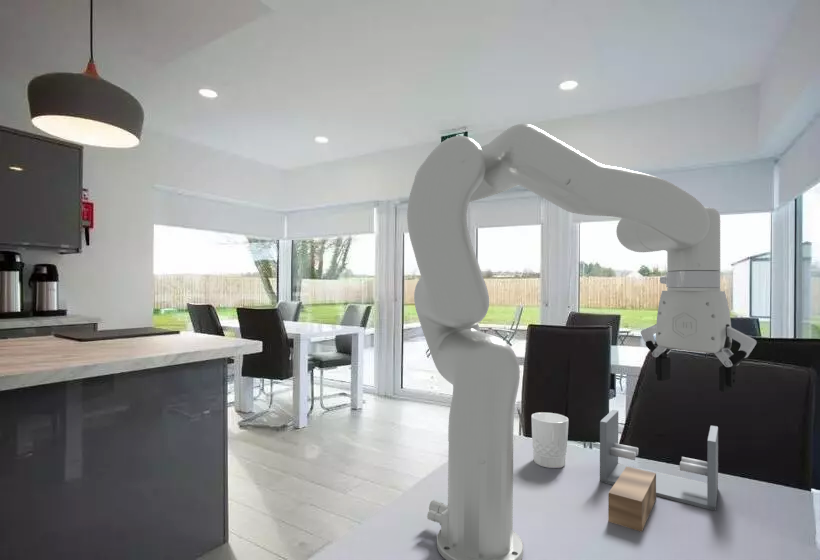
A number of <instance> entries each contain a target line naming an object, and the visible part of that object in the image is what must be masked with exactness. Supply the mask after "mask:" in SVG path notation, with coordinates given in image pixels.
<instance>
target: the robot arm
mask: <svg viewBox="0 0 820 560" xmlns="http://www.w3.org/2000/svg"><path fill="white" fill-rule="evenodd" d="M516 186H520V187H522V188H524V189H526V190H527V191H529V192H532V194H533V193H534V194H535V195H537V196H539V197H541V198H542V199H545V200H546V201H548V202H550V203H552V204H553V205H555V206H557V207H559V208H560V209H562V210H563V211H566V212H569V213H572V214H577V215H584V216H593V217H595V216H596V217H597V216H598V217H601V216H602V217H614V218H620V220H619V222H617V225H616V231H615V232H616V237H617V240H618V241H619V243H620V244H621V245H622V246H623V247H624V248H625V249H627V250H629V251H633V252H635V253H651V252H661V251H666V252H667V253H666V254H667V255H666V256H667V257H666V258H667V259H666V260H667V261H666V263H667V268H666V271H667V272H666V273H665V275H663V276H660V277H659V282H660V284H662V285H663V284H664V285H665V286H666V288H667V289H666V290H661V294H660V297H659V302H658V306H657V315H656V324H654V325H652V326H649V327H647V328H644V329H642V330H641V331H640V336H641V337H642V339H643V341H644V342H645V346H646V348H648V350H649V351H650V353H651V354H652V357H654V358H655V375H656V381H659V382H664V381H667V380H670V379H671V356H668V355H669V354H670V352H672V350H676V351H684V352H690V353H691V352H692V353H693V352H694V353H701V354H714V355H715V356H716V357H717V359H719V361H720V362H721V363H722V366H721V365H720V366H719V368H718V383H719V384H718V387H719V388H718V390H719V391H720V392H721V393H728V392H732V391H734V388H735V387H736V385H737V366H739V365H740V363H742V362H743V361H745V360H746V359H748V358H749V357H750V354H751V353H752V351H753V349H755V346H756V345H757V342H758V341H757V340H756V339H754V338H752V337H750V336H749V335H747V334H745V333H744V332H741V331H739V330H738V329H735V328H734V327H732V321H731V312H730V308H729V302H728V298H727V295H726V291H725V290H724V291H723V290H722V291H721V215H720V213H719V210H717V209H716V208H713V207H710V206H709V207H708V206H704V205H703V204H702V202H701V201H699V200H698V199H697V198H696V197H695V196H693V195H692V194H690V193H689V192H687V191H686V190H684V189H682V188H680V187H679V186H677V185H675V184H674V183H672V182H670V181H668V180H665V179H663V178H661V177H659V176H654V175H653V174H652V175H651V174H647V173H644V172H639V171H634V170H630V169H626V168H622V167H617V166H611V165H607V164H606V165H605V164H602V163H600V162H597V161H595V160H594V159H592V158H590V157H588V156H587V155H585V154H584V153H581V152H580V151H579V150H578V149H577V150H576V149H575V148H573V147H572V146H570V145H568V144H566V143H565V142H563V141H562V140H560V139H557V138H556V137H554V136H553V135H550V134H549V133H547V132H546V131H544V130H543V129H540V128H538V127H537V126H535V125H532V124H529V123H518V124H514V125H512V126H510V127H508V128H507V129H506V130H504V131H502V132H501V133H500V134H498V135H497V136H496V137H495V138H494V139H493V140H491V141H490V142H489V143H487V144H484V145H482V146H481V145H480V144H479V143H478V142H477V141H475V140H474V139H473V138H472V137H469V136H465V135H454V136H452V137H449V138H446V139H445V140H443V141H441V142H440V143H439V144H437V146H436V147H435V148H434V149H433V150H432V151H431V152H430V153H429V155H428V156H427V157H426V158H425V160H424V161H423V162H422V164H421V165H420V166H419V168H418V169H417V171H416V174H415V176H414V180H413V183H412V186H411V189H410V192H409V197H408V201H407V202H408V203H407V210H406V211H407V213H406V217H407V218H406V219H407V220H406V221H407V222H406V223H407V229H408V234H409V235H408V236H409V239H410V244H411V247H412V250H413V253H414V254H413V255H414V257H415V261H416V264H417V269H418V270H419V275H420V278H419V279H418V281H417V282H416V285H415V288H414V292H413V297H414V298H413V301H414V307H415V311H416V315H417V318H418V320H419V323H420V326H421V330H422V333H423V336H424V339H425V341H426V345H427V347H428V350H429V352H430V355H431V358H432V361H433V363H434V366H435V368H436V370H437V372H438V373H439V374H440V375H441V377H443V379H445V381H447V382H448V383H450V384H451V385H452V389H453V391H452V397H451V402H450V409H449V413H448V414H449V415H448V431H447V434H448V435H447V436H448V437H447V439H448V440H447V441H448V454H447V455H448V460H447V461H448V462H447V463H448V465H447V466H448V467H447V468H448V469H447V471H448V472H447V474H448V475H447V477H448V478H447V504H444V502H440V501H438V500H435V499H432V500H431V501H430V503H429V507H428V512H427V516H426V517H427V520H429V521H432V522H434V523H438V524H439V526H440V529H439V531H438V532H437V535H436V548H437V550H438V553H439V554H440V556H441V557H442V558H443V559H444V560H522V559H523V557H524V542H523V540H522V539H521V537H520V536H519V534H518V533H516V531H514V530H513V529H514V528H513V526H514V525H513V524H514V522H513V518H514V516H513V512H514V509H513V508H514V507H513V506H514V423H515V409H516V401H517V397H518V392H519V385H520V376H521V374H520V373H521V372H520V371H521V370H520V364H519V360H518V357H517V354H516V353H515V351H514V349H512V347H511V346H510V345H509V344H508V343H507V342H506V341H505V340H503V339H501V338H500V337H498V336H496V335H494V334H489V333H487V332H482V331H481V328H480V327H479V324H480V323H481V321H483V320H484V319H485V317H486V315H487V313H488V311H489V307H490V296H489V291H488V288H487V285H486V282H485V278H484V276H483V273H482V270H481V268H480V267H481V266H480V263H479V261H478V258H477V255H476V253H475V250H474V247H473V244H472V240H471V237H470V232H469V227H468V220H467V217H468V216H467V214H468V206H469V204H470V203H472V202H475V201H479V200H482V199H485V198H489V197H492V196H494V195H498V194H500V193H503V192H506V191H508V190H510V189H512V188H515V187H516ZM654 335H655V337H654ZM733 341H736V342H737V343H739V344H740V347H739V349H738V350H737V351H736V352H734V353H733V352H732V350H731V348H732V343H733Z"/></svg>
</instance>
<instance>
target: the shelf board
mask: <svg viewBox="0 0 820 560" xmlns="http://www.w3.org/2000/svg"><path fill="white" fill-rule="evenodd" d="M607 494H608V497H607V500H608V505H607V506H608V509H607V510H608V515H607V517H608V518H607V519H608V520H607V521H608V523H612V524H615V525H617V526H620V527H621V526H622V527H624V528H628V529H631V530H635V531H637V532H638V531H639V532H643V530H644V527H645V525H646V523H647V521H648V519H649V516H650V514H651V512H652V510H653V507H654V504H655V503H656V501H657V500H656V499H657V496H656V473H653V472H649V471H644V470H640V469H635V468H631V467H627V466H626V468H625V469H624V471H623V472H622V474H621V475H620V477H619V478H618V480H617V481H616V482H615V484H614V485H612V486H611V488H610V490H609V492H608V493H607Z"/></svg>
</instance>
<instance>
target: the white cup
mask: <svg viewBox="0 0 820 560" xmlns="http://www.w3.org/2000/svg"><path fill="white" fill-rule="evenodd" d="M568 435H569V418H568V417H567V416H565V415H564V414H560V413H556V412H554V413H553V412H543V411H541V412H535V413H532V414H531V439H532V448H533V449H532V450H533V452H532V453H533V455H532V456H533V458H532V459H533V461H534V463H535V464H536V465H538V466H541V467H545V468H548V469H549V468H550V469H559V468H563V467H565V466H566V457H567V456H566V455H567V449H568Z"/></svg>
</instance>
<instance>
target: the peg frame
mask: <svg viewBox="0 0 820 560" xmlns="http://www.w3.org/2000/svg"><path fill="white" fill-rule="evenodd" d="M706 455H707V456H706V457H707V458H706V459H707V461H705V460H701V459H695V458H690V457H685V456H681V461H680V462H679V470H680V471H683V472H688V473H692V474H697V475H701V476H705V477H707V480H706V482H703V481H700V480H695V479H692V478H691V479H690V478H686V477H681V476H678V475H674V474H668V473H665V472H659V471H656V470H650V469H647V468H642V467H637V466H634V465H633V466H632V465H628V464H625V463H620V462H619V458H622V459H628V460H631V461H636V457H637V456H639V447H637V446H631V445H626V444H620V443H619V410H615V409H611V410H610V411H609V412H608V413H607V415H605V416H603V418H602V419H601V420H600V421H599V482H601V483H605V484H607V485H608V484H609V485H612V486H613V485H614V484H615V482H616V481H617V480H618V478H619V477H620V475H621V474H622V472H623V471H624V469H625V468H626V466H627V467H631V468H635V469H640V470H644V471H649V472H653V473H656V497H659V498H663V499H664V498H665V499H668V500H671V501H676V502H679V503H684V504H688V505H692V506H694V507H695V506H696V507H699V508H704V509H707V510H711V511H716V509H717V502H718V492H719V489H718V488H719V427H718V426H717V425H710V427H709V431H708V436H707V454H706Z"/></svg>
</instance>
